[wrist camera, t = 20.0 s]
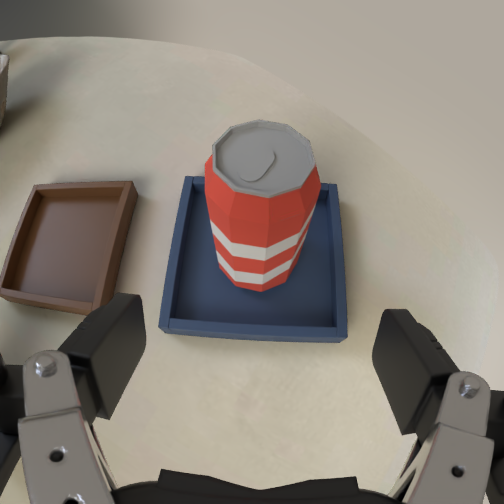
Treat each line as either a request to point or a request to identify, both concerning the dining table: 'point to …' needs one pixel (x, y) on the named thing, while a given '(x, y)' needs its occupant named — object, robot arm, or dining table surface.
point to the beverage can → (260, 201)
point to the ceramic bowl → (3, 84)
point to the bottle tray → (69, 245)
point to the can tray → (250, 301)
